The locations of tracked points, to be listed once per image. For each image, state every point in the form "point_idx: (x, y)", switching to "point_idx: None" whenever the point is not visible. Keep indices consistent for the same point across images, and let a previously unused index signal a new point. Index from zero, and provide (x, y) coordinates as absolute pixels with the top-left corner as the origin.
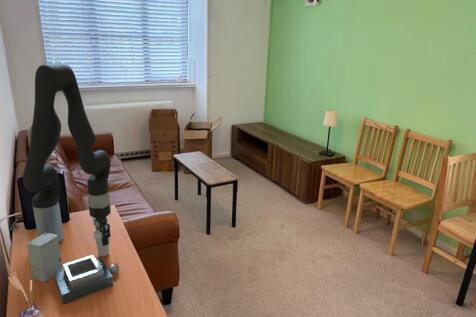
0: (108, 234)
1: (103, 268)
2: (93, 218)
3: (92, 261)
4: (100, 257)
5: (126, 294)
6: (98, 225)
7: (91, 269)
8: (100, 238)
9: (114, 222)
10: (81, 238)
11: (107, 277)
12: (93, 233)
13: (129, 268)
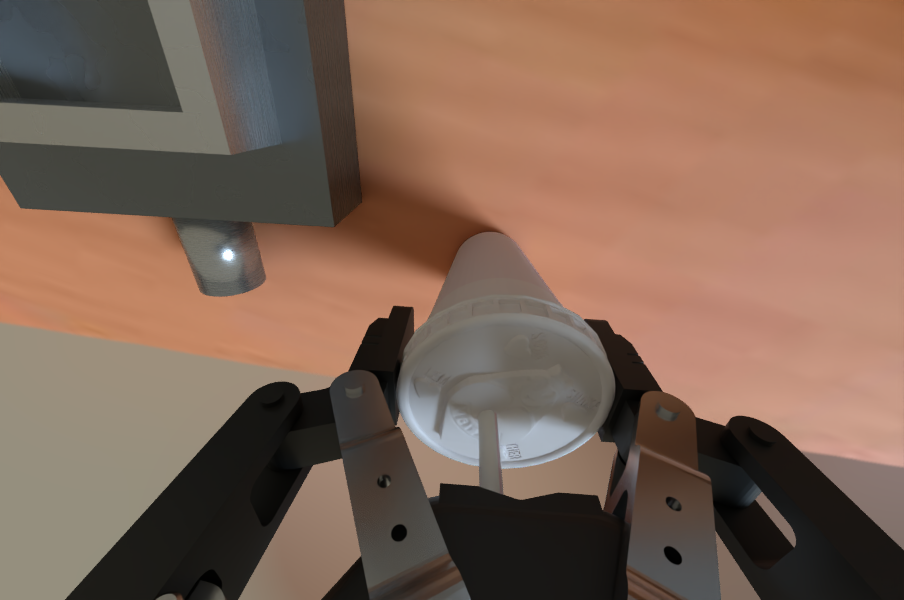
0: (271, 476)
1: (146, 185)
2: (877, 547)
3: (141, 108)
4: (329, 222)
5: (11, 222)
6: (367, 594)
7: (154, 75)
8: (413, 346)
9: (779, 429)
10: (841, 198)
11: (4, 168)
12: (568, 326)
13: (262, 323)
